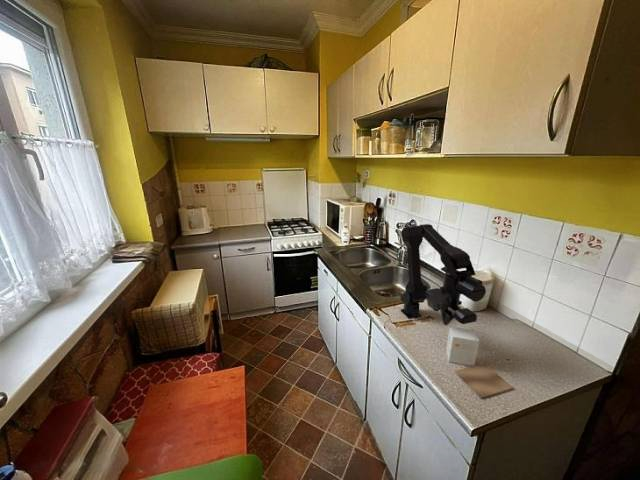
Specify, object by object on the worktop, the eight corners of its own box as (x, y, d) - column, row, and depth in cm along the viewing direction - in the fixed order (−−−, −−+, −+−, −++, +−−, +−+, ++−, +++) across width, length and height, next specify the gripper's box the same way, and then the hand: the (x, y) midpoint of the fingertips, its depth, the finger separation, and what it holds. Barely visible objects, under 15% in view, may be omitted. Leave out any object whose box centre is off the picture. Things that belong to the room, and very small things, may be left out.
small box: (469, 355, 90) (475, 330, 87) (474, 367, 85) (480, 340, 82) (445, 350, 92) (449, 326, 89) (448, 362, 87) (452, 336, 84)
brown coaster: (454, 372, 83) (455, 370, 83) (484, 364, 86) (484, 362, 86) (481, 399, 74) (481, 397, 74) (512, 388, 77) (513, 387, 77)
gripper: (415, 278, 95) (411, 314, 100) (453, 304, 78) (445, 346, 83) (440, 274, 98) (434, 309, 103) (482, 298, 81) (473, 339, 86)
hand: (445, 324), depth 94 cm, fingers closed
